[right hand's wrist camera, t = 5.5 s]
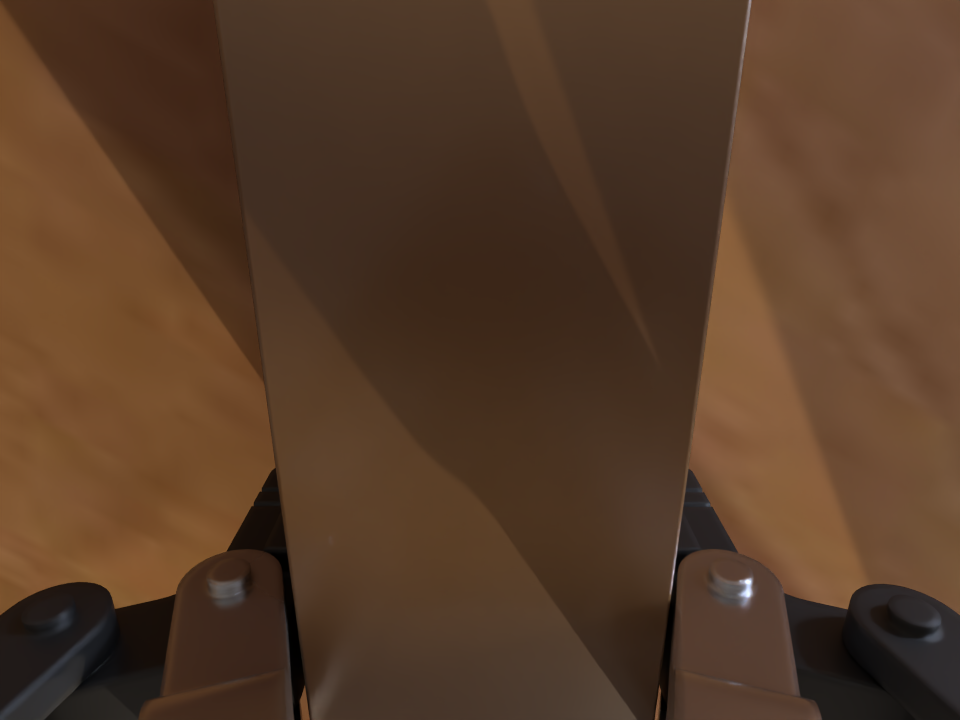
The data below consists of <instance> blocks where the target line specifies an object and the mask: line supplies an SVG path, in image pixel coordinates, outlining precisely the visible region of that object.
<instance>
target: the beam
mask: <svg viewBox="0 0 960 720" xmlns="http://www.w3.org/2000/svg"><path fill="white" fill-rule="evenodd" d="M751 2H752V0H213V7H214V14H215V21H216V29H217V36H218V44H219V51H220V58H221V66H222V73H223V81H224V88H225V95H226V103H227V110H228V118H229V125H230V132H231V140H232V147H233V155H234V162H235V169H236V177H237V184H238V192H239V199H240V206H241V214H242V221H243V229H244V236H245V243H246V251H247V258H248V266H249V273H250V280H251V288H252V295H253V303H254V310H255V317H256V325H257V332H258V340H259V347H260V354H261V362H262V369H263V377H264V384H265V391H266V399H267V406H268V414H269V421H270V428H271V436H272V443H273V451H274V458H275V465H276V473H277V480H278V488H279V495H280V502H281V510H282V517H283V525H284V532H285V539H286V547H287V554H288V562H289V569H290V576H291V584H292V591H293V599H294V606H295V613H296V621H297V628H298V636H299V643H300V650H301V658H302V665H303V673H304V680H305V687H306V695H307V702H308V710H309V717H310V720H654V719H655V712H656V704H657V697H658V690H659V682H660V675H661V667H662V660H663V653H664V645H665V638H666V630H667V623H668V616H669V608H670V601H671V593H672V586H673V579H674V571H675V564H676V556H677V549H678V542H679V534H680V527H681V519H682V512H683V505H684V497H685V490H686V483H687V475H688V468H689V460H690V453H691V446H692V438H693V431H694V423H695V416H696V409H697V401H698V394H699V386H700V379H701V372H702V364H703V357H704V349H705V342H706V335H707V327H708V320H709V312H710V305H711V298H712V290H713V283H714V276H715V268H716V261H717V253H718V246H719V239H720V231H721V224H722V216H723V209H724V202H725V194H726V187H727V179H728V172H729V165H730V157H731V150H732V142H733V135H734V128H735V120H736V113H737V105H738V98H739V91H740V83H741V76H742V68H743V61H744V54H745V46H746V39H747V32H748V24H749V17H750V9H751Z"/></svg>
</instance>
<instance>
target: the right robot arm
mask: <svg viewBox="0 0 960 720" xmlns="http://www.w3.org/2000/svg"><path fill="white" fill-rule="evenodd" d="M659 685H660V688H661V696H660V703H659V710H658V720H960V615H958V614H957V613H956V612H955V611H953V610H952V609H950V608H949V607H947V606H946V605H945V604H943V603H941V602H939V601H938V600H936V599H934V598H932V597H930V596H928V595H925V594H923V593H921V592H918V591H915V590H912V589H909V588H905V587H901V586H896V585H888V584H873V585H867V586H864V587H861V588H860V589H858V590H856V591H855V592H854V594H853V595H852V597H851V600H850V603H849V607H848V610H847V609H843V608H838V607H834V606H829V605H825V604H820V603H816V602H811V601H807V600H803V599H799V598H796V597H793V596H790V595H787V594H785V593H784V591H783V588H782V585H781V583H780V581H779V580H778V578H777V577H776V576H775V575H774V573H772V572H771V571H770V570H769V569H768V568H767V567H765V566H764V565H763V564H761V563H759V562H758V561H756V560H754V559H752V558H750V557H748V556H745V555H742V554H739V553H738V552H737V550H736V548H735V546H734V544H733V543H732V541H731V539H730V537H729V536H728V534H727V532H726V530H725V529H724V527H723V525H722V523H721V521H720V520H719V518H718V516H717V514H716V513H715V511H714V509H713V507H710V502H709V500H708V498H707V497H706V495H705V493H704V492H702V488H701V486H700V484H699V483H698V481H697V479H696V477H695V475H694V474H693V472H692V471H691V470H690V469H688V475H687V483H686V490H685V497H684V505H683V512H682V519H681V527H680V534H679V542H678V549H677V556H676V564H675V571H674V579H673V586H672V593H671V601H670V608H669V616H668V623H667V630H666V638H665V645H664V653H663V660H662V667H661V675H660V682H659ZM304 686H305V680H304V673H303V665H302V658H301V650H300V643H299V636H298V628H297V621H296V613H295V606H294V599H293V591H292V584H291V576H290V569H289V562H288V554H287V547H286V539H285V532H284V525H283V517H282V510H281V502H280V495H279V488H278V480H277V473H276V468H275V469H273V470H272V471H271V473H270V474H269V476H268V478H267V480H266V482H265V483H264V485H263V487H262V492H259V494H258V496H257V498H256V500H255V501H254V506H252V507H251V509H250V510H249V512H248V514H247V516H246V518H245V519H244V521H243V523H242V525H241V527H240V528H239V530H238V532H237V534H236V536H235V537H234V539H233V541H232V543H231V545H230V546H229V548H228V550H227V552H224V553H221V554H218V555H215V556H212V557H210V558H208V559H206V560H204V561H202V562H201V563H199V564H197V565H196V566H195V567H193V568H192V569H191V570H190V571H189V572H188V573H187V574H186V575H185V576H184V577H183V578H182V580H181V581H180V583H179V585H178V588H177V591H176V594H175V595H172V596H169V597H166V598H162V599H158V600H154V601H149V602H145V603H140V604H136V605H131V606H127V607H122V608H118V609H115V608H114V604H113V601H112V597H111V595H110V593H109V591H108V590H107V589H106V588H104V587H102V586H101V585H98V584H95V583H88V582H75V583H67V584H62V585H58V586H54V587H51V588H48V589H45V590H42V591H40V592H37V593H35V594H33V595H31V596H29V597H27V598H25V599H23V600H22V601H20V602H18V603H17V604H15V605H14V606H12V607H11V608H9V609H8V610H7V611H5V612H4V613H3V614H2V615H0V720H302V710H301V703H300V699H301V696H302V693H303V689H304Z"/></svg>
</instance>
